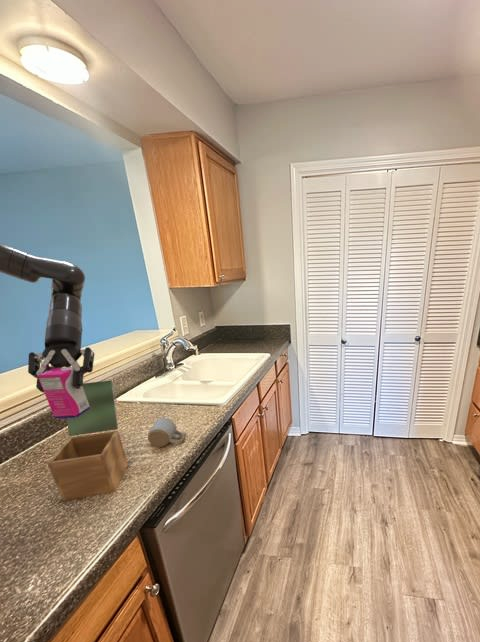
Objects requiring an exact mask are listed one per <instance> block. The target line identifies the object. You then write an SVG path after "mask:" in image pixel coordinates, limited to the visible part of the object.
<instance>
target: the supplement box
mask: <svg viewBox="0 0 480 642" xmlns="http://www.w3.org/2000/svg"><path fill="white" fill-rule="evenodd" d="M73 372H75V370H74V368H73V367H72V366H71V367H62V368H53V369H51V370H49V371H46V372H44V373H42V374H39V375H37V377H38V379H39V381H40V384H41V386H42V388H43V391H44V395H45V399H46V400H47V403H48V405H49V408H50V410H51V413H52V416H53V418H54V419H67V418H77V417H78V416H80V415H81V414H82V413H84V412H85V411H87V410H88V409H90V406H89V403H88V400H87V398H86V395H85V392H84V389H83V387H82V386H80V389H76V388H75V387H74V386H73Z"/></svg>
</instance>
